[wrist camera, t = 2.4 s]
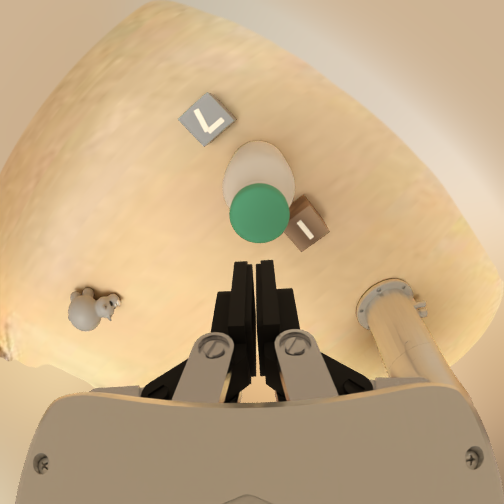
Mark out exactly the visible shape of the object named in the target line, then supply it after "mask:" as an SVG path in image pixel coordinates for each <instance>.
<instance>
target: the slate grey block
mask: <svg viewBox="0 0 504 504" xmlns="http://www.w3.org/2000/svg"><path fill="white" fill-rule="evenodd" d="M178 120H179V121H180V122H181V123H182V124H183V125H184V126H185V127H186V129H187V130H188V131H189V132H190V133H191V134H192V135H193V136H194V137H195V138H196V139H197V140H198V141H199V142H200V143H201V144H202V145H203V146H204V147H205V146H206V145H208V144H209V143H211V142H212V141H213V140H214V139H215V138H216V137H217V136H218V135H220V134H221V133H222V132H223V131H224V130H225V129H227V128H228V127H229V126H230V125H231V124H232V123H234V122H235V121H236V120H237V119H236V118H235V117H234V116H233V115H232V114H231V113H230V112H229V110H228V109H227V108H226V107H225V106H224V105H223V104H222V103H221V102H220V101H219V100H218V99H217V98H216V97H215V96H214V95H213V94H211V93H208V92H207V93H206V94H204V95H203V96H202V97H201V98H200V99H199V100H198V101H197V102H196V103H194V104H193V105H192V106H191V107H190V108H189V109H188V110H187V111H186V112H185V113H184V114H183V115H182V116H181V117H180V118H178Z"/></svg>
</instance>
